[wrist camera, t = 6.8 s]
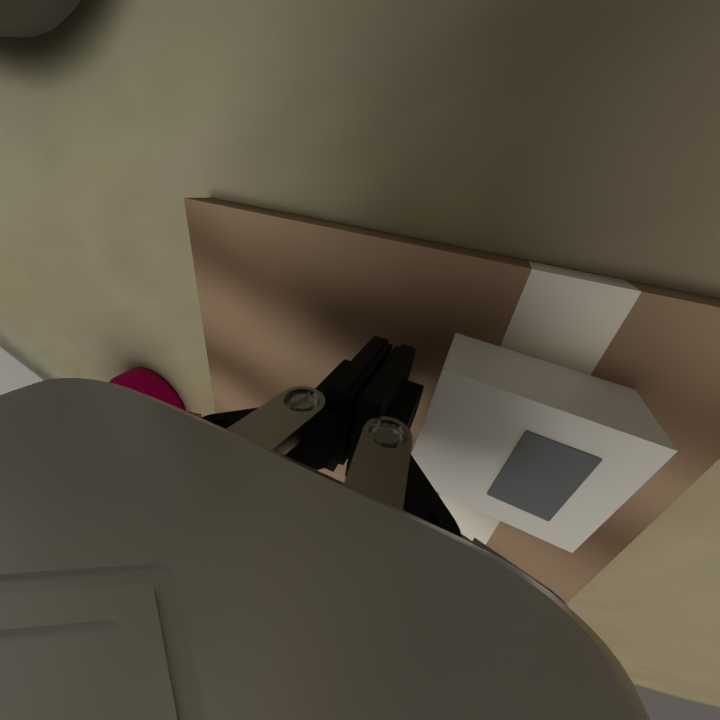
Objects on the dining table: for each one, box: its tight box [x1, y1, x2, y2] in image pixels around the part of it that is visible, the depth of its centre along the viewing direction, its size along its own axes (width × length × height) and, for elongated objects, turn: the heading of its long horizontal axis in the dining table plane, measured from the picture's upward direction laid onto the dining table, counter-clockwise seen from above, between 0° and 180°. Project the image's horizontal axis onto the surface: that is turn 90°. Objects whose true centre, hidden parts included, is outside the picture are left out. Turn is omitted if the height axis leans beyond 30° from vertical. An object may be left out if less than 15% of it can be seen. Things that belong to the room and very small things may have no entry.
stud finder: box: [411, 333, 678, 553], centre depth 11 cm, size 5×6×3 cm
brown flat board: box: [184, 198, 720, 603], centre depth 16 cm, size 18×22×2 cm
